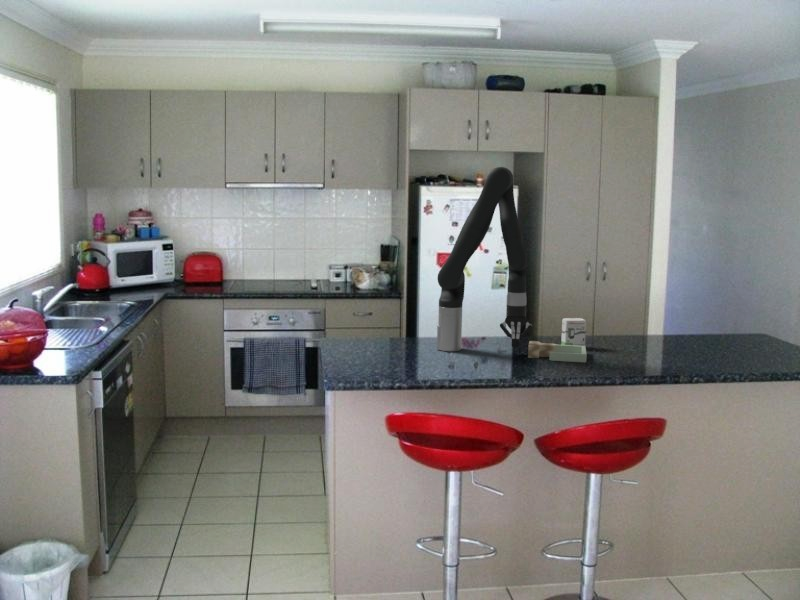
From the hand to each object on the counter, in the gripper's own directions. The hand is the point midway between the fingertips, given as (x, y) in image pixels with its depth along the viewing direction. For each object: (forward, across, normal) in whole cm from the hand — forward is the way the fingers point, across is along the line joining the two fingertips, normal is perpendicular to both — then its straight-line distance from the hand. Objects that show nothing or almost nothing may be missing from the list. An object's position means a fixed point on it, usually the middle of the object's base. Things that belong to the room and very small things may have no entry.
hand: (515, 348), depth 329 cm
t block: (+3, +10, 0) cm, 10 cm away
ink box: (+3, +22, +18) cm, 29 cm away
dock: (+3, +20, 0) cm, 20 cm away
